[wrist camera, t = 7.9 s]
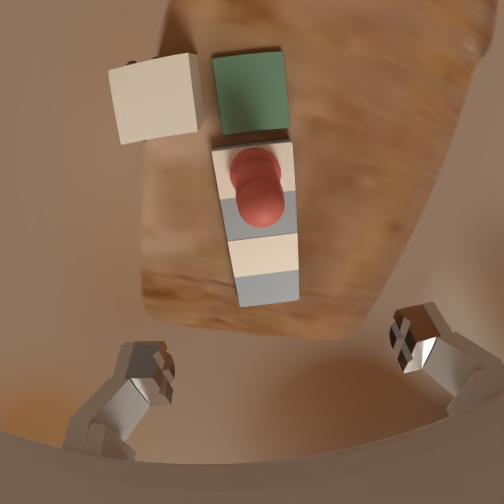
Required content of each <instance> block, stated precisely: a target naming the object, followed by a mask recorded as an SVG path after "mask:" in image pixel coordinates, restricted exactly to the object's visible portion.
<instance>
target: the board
mask: <svg viewBox="0 0 504 504" xmlns="http://www.w3.org/2000/svg"><path fill="white" fill-rule="evenodd" d="M254 147H257V148H263V149H266V150H268V151H269V152H271V153H272V154H273V155H274V156H275V157H276V159H277V160H278V163H279V165H280V168H281V179H280V183H281V186H282V189H283V192H284V201H285V208H284V212H283V214H282V216H281V218H280V219H279V220H278V221H277V222H276V223H275V224H273V225H271V226H269V227H264V228H258V227H254V226H251V225H249V224H248V223H246V222H245V221H244V220H243V219H242V217H241V216H240V214H239V211H238V207H237V204H236V191H235V188H234V187H233V185H232V183H231V180H230V166H231V163H232V161H233V159H234V158H235V156H236V155H237V154H238V153H240V152H241V151H243V150H245V149H248V148H254ZM212 157H213V163H214V168H215V174H216V180H217V186H218V191H219V197H220V202H221V208H222V213H223V219H224V224H225V230H226V235H227V240H228V246H229V252H230V257H231V262H232V267H233V273H234V278H235V283H236V288H237V293H238V298H239V303H240V307H247V306H255V305H264V304H272V303H280V302H287V301H295V300H299V272H298V270H299V269H298V237H297V216H296V195H295V176H294V160H293V145H292V141H291V140H290V139H282V140H272V141H263V142H254V143H246V144H238V145H231V146H223V147H217V148H212Z"/></svg>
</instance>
